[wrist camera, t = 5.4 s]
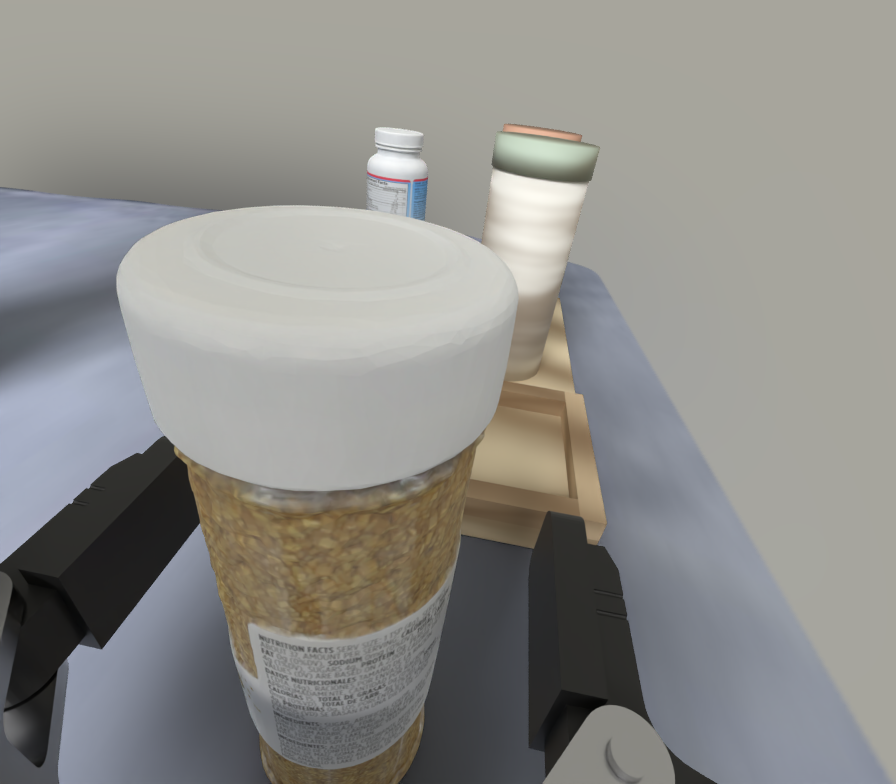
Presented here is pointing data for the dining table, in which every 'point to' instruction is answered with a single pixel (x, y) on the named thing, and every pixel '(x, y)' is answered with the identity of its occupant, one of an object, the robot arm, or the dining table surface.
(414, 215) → the pill bottle
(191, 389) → the spice jar
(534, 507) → the wooden stand
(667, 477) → the dining table surface
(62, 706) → the robot arm
